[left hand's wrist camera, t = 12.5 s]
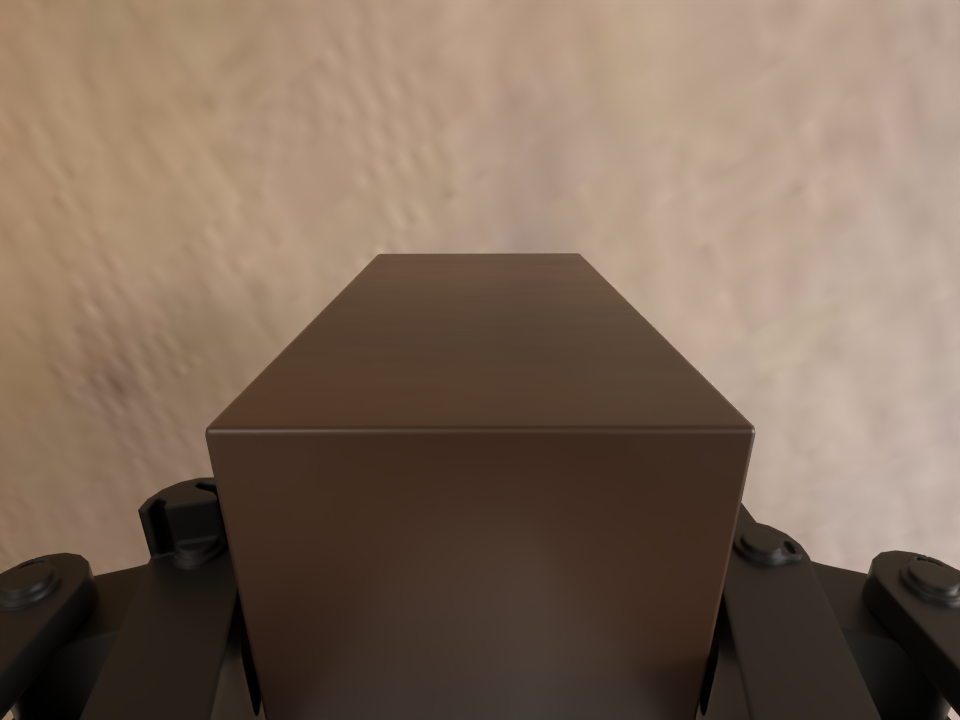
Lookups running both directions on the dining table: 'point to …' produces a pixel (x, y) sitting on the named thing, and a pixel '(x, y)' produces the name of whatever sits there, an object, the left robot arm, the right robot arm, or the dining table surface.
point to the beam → (480, 501)
